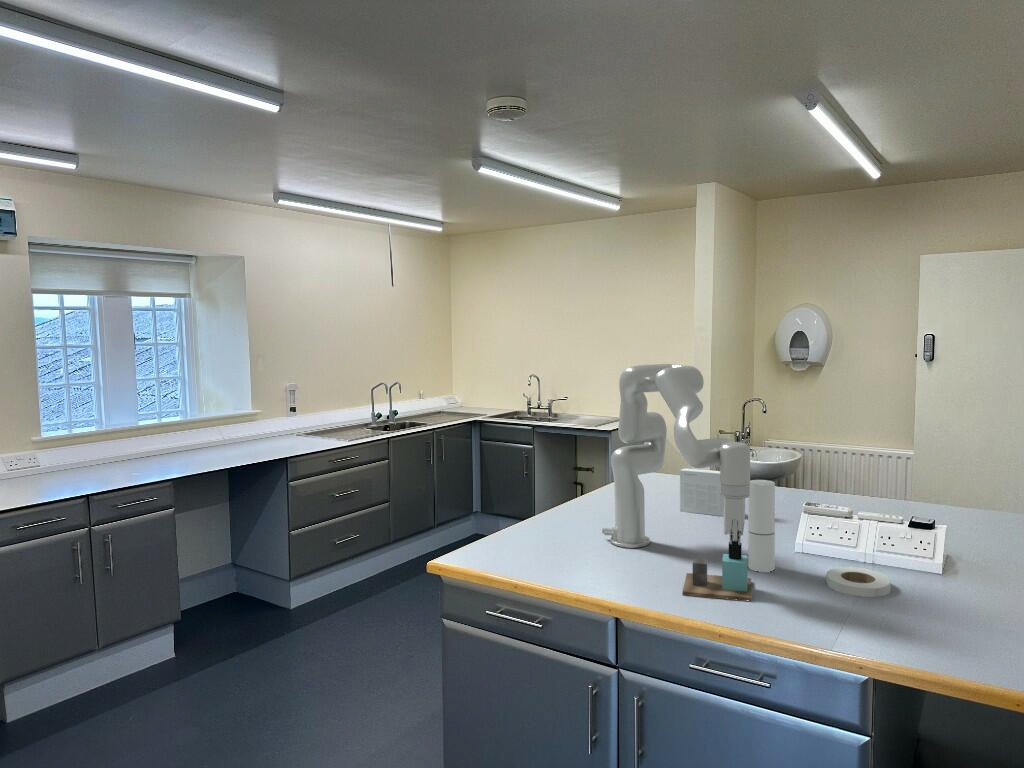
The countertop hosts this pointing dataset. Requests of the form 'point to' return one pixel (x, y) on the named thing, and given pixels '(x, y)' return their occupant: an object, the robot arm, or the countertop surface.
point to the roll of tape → (844, 576)
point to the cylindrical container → (761, 526)
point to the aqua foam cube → (734, 573)
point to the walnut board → (710, 584)
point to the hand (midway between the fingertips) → (735, 557)
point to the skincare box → (701, 492)
